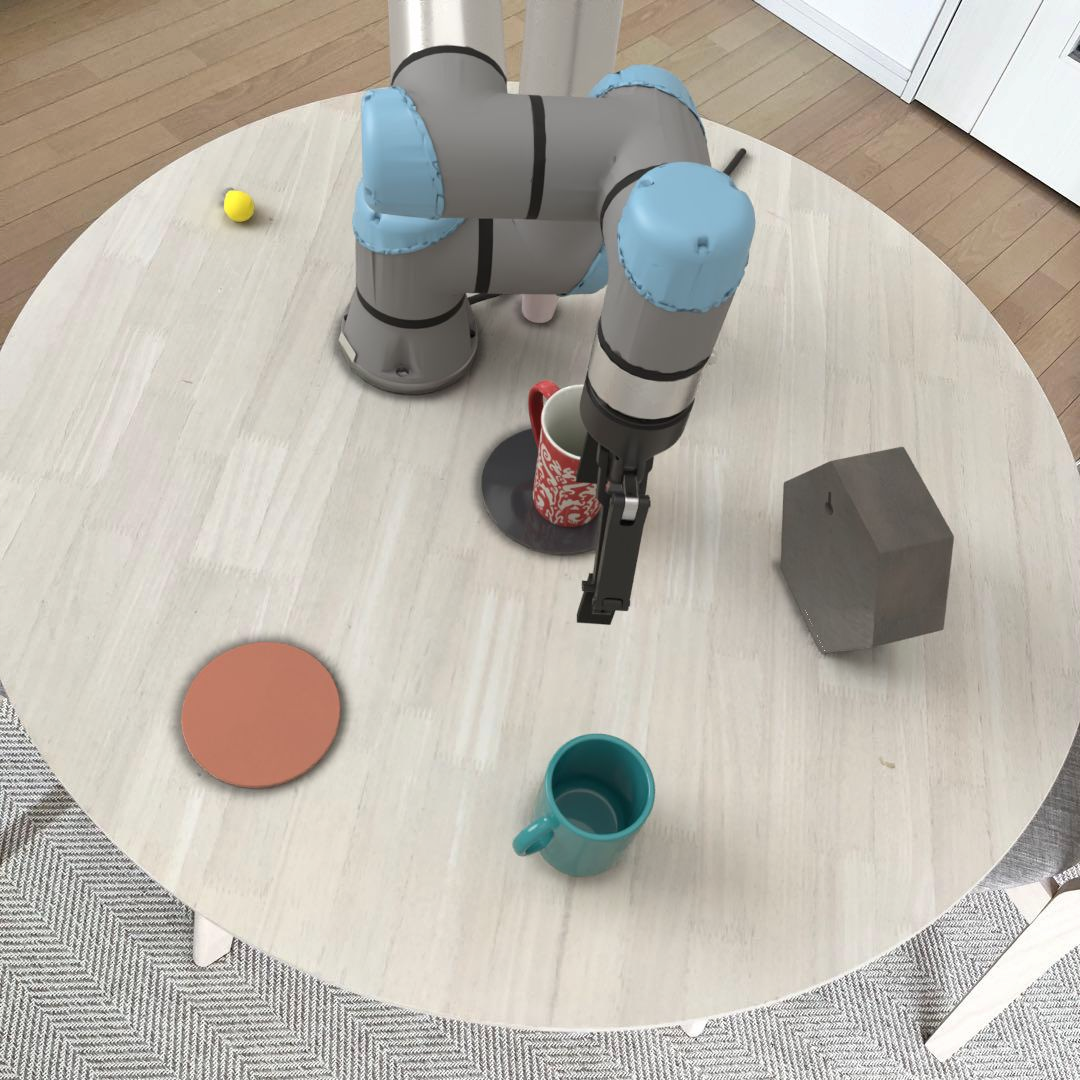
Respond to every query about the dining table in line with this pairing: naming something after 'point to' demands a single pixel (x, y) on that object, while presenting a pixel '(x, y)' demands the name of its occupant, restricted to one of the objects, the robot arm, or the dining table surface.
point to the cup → (589, 805)
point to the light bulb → (238, 205)
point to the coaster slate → (528, 501)
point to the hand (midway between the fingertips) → (592, 547)
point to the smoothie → (539, 307)
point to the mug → (560, 455)
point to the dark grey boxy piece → (865, 551)
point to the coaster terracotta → (260, 714)
